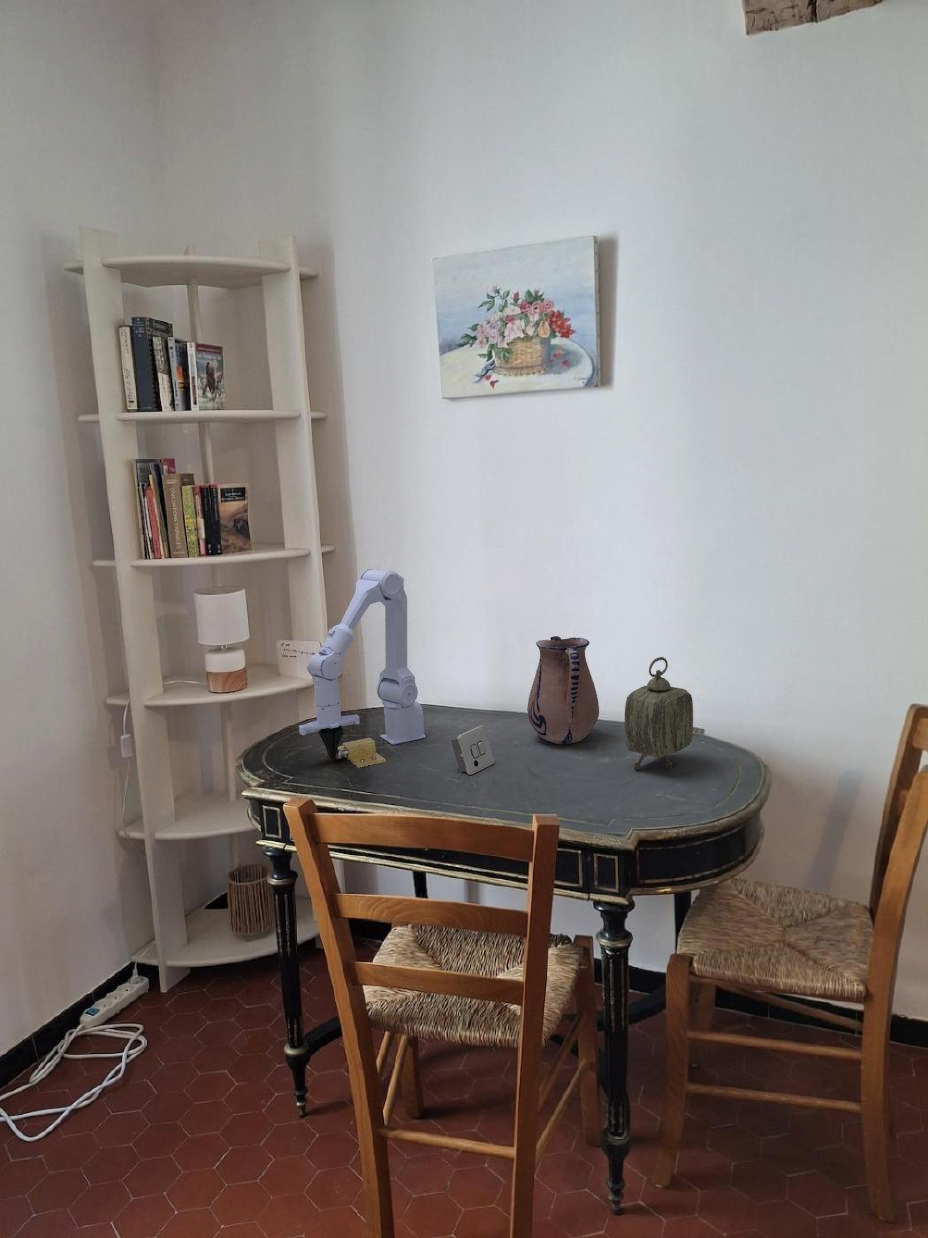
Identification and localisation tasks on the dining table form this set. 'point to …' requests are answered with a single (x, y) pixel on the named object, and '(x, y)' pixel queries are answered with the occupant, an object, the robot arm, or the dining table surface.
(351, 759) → the hinge leaves
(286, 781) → the dining table surface
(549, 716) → the ceramic pitcher
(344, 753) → the hinge pin
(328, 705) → the robot arm
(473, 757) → the electrical switch
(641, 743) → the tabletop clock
